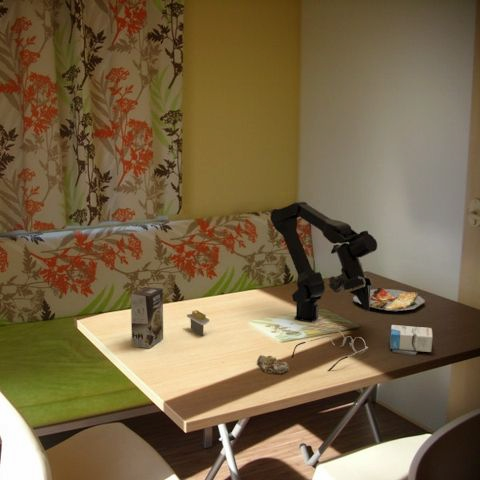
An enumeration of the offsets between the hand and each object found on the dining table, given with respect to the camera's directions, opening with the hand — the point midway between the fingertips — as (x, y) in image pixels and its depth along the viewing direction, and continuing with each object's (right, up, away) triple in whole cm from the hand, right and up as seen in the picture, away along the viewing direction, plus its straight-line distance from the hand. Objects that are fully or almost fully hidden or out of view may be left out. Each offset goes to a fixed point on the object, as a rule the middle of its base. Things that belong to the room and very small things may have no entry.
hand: (367, 310), depth 213 cm
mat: (+11, -11, -6) cm, 16 cm away
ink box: (+6, -7, -5) cm, 11 cm away
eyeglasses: (-13, -12, -12) cm, 22 cm away
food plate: (+15, -2, +38) cm, 41 cm away
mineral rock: (-30, -14, -21) cm, 39 cm away
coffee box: (-67, -10, -3) cm, 67 cm away
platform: (-52, -8, +7) cm, 53 cm away
